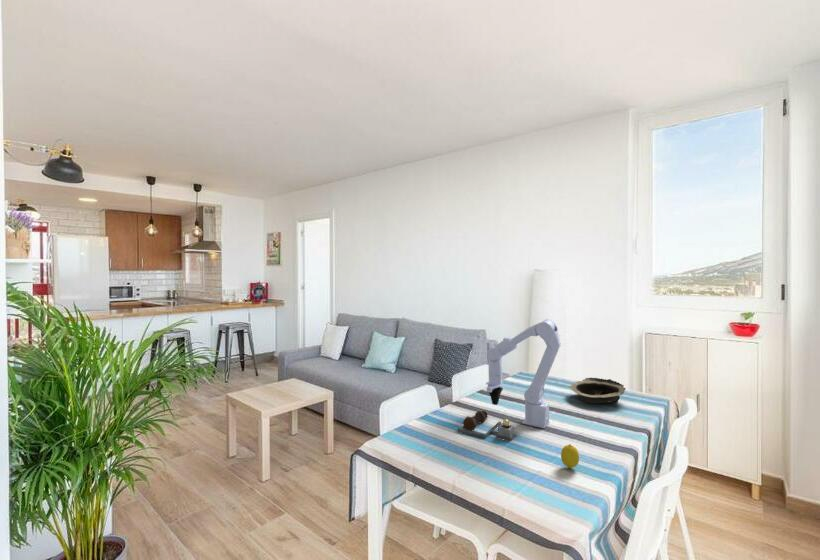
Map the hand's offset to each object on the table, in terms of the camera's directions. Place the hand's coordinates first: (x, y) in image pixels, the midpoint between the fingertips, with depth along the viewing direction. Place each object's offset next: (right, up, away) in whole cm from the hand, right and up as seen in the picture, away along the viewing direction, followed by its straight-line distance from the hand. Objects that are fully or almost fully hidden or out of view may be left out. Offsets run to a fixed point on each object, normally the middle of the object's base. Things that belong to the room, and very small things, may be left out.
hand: (495, 404), depth 179 cm
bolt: (-10, -6, -10) cm, 15 cm away
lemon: (+15, -7, -46) cm, 49 cm away
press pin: (-1, -2, -22) cm, 22 cm away
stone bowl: (+54, -5, +19) cm, 57 cm away
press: (-5, -6, -16) cm, 18 cm away
